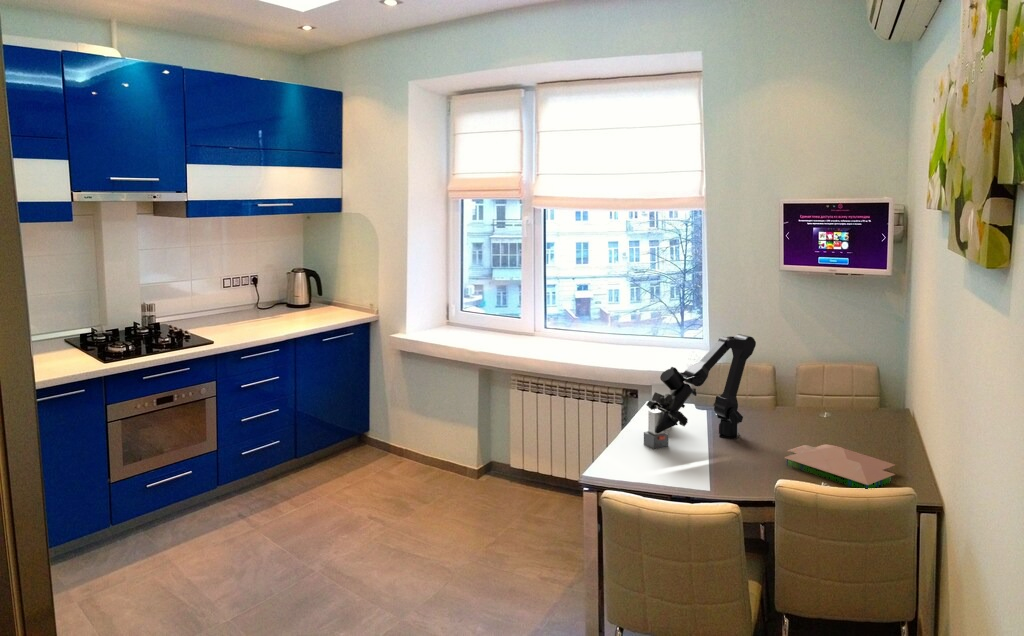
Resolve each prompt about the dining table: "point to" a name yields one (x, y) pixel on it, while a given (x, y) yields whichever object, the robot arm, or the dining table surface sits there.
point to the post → (655, 421)
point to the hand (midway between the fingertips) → (652, 430)
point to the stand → (656, 440)
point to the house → (842, 464)
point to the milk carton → (660, 390)
